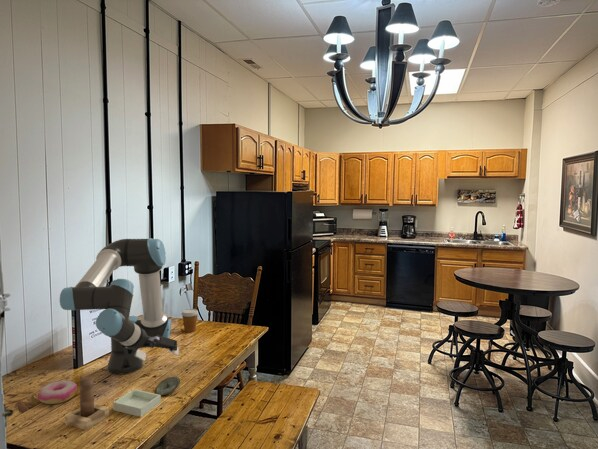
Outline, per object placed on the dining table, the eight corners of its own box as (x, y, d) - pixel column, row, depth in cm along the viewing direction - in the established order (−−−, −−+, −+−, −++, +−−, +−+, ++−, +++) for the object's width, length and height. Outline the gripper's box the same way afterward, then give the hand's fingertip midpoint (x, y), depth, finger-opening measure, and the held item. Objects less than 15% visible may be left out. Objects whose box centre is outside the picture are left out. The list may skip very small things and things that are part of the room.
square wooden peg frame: (65, 424, 146) (64, 416, 146) (88, 410, 156) (88, 402, 155) (86, 430, 143) (86, 421, 142) (109, 415, 152) (109, 407, 152)
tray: (113, 410, 156) (113, 402, 156) (134, 396, 166) (134, 389, 166) (141, 416, 151) (140, 408, 151) (160, 402, 162) (160, 395, 161)
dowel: (77, 421, 148) (76, 381, 147) (88, 415, 152) (86, 376, 151) (87, 424, 146) (85, 383, 145) (97, 418, 150) (96, 378, 149)
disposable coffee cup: (181, 329, 248) (181, 309, 247) (197, 327, 251) (197, 308, 250) (182, 334, 239) (181, 313, 238) (198, 332, 242) (198, 312, 241)
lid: (185, 390, 172) (185, 378, 171) (163, 399, 164) (163, 387, 164) (171, 382, 179) (171, 371, 178) (150, 390, 171) (150, 379, 171)
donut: (33, 408, 157) (32, 396, 156) (44, 392, 169) (43, 380, 169) (72, 404, 160) (72, 391, 160) (80, 388, 173) (80, 376, 173)
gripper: (96, 352, 141) (129, 369, 158) (164, 340, 138) (191, 359, 155) (100, 331, 145) (132, 349, 162) (166, 319, 142) (192, 340, 159)
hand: (161, 354), depth 159 cm, fingers open, 13 cm apart
